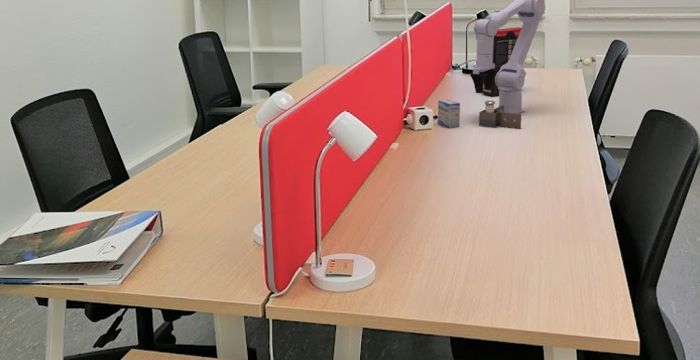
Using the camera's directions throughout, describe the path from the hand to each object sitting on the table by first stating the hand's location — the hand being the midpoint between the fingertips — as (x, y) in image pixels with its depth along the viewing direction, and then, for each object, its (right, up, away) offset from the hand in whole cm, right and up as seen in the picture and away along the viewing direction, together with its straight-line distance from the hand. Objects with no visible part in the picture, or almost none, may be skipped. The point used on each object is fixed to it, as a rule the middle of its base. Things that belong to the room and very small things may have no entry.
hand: (483, 91), depth 276 cm
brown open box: (+5, -13, -8) cm, 16 cm away
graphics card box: (+16, +4, +48) cm, 51 cm away
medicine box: (-13, -13, -4) cm, 19 cm away
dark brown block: (+4, -12, -2) cm, 12 cm away
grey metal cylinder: (+1, -12, -5) cm, 14 cm away
